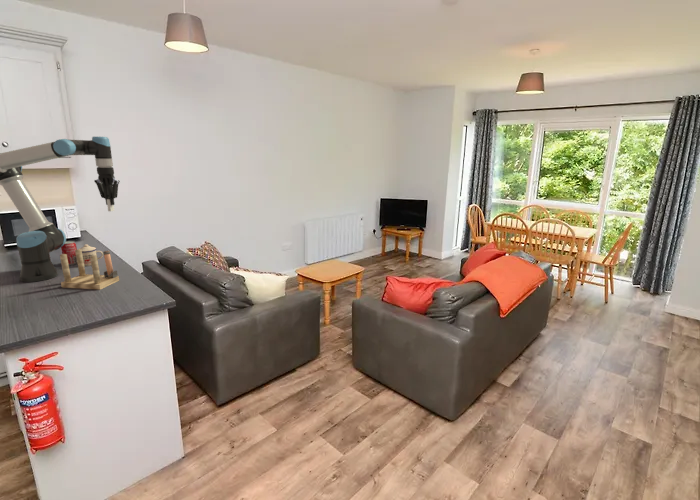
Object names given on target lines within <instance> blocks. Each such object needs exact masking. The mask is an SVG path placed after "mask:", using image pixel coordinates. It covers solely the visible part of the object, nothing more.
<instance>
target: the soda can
mask: <svg viewBox="0 0 700 500" xmlns="http://www.w3.org/2000/svg"><path fill="white" fill-rule="evenodd" d="M60 250H61V254H67V259H68V265H69V266H74V265H78V264H77V258H76V252H75V250H78V248H77V244H76V242H75V240H68V241H67V240H66V242H65V244H64V245H63V246H62V247H61V248H60Z"/></svg>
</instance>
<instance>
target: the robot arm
mask: <svg viewBox="0 0 700 500" xmlns="http://www.w3.org/2000/svg"><path fill="white" fill-rule="evenodd" d="M111 149H112V146H111V141H110V138H109V137H108V136H92V137H91V139H90V140H83V139H68V138H67V139H66V138H62V139H56V140H55V141H51V142H45V143H42V144H38V145H32V146H29V147H24V148H18V149H15V150H10V151H4V152H0V186H2V188H3V190H4V191H5V192H6V194H7V195H8V197H9V198H10V200H11V203H13V205H14V207H15V208H16V210H17V211H18V212H19V214H20V216H21V217H22V218H23V220H24V222H25V223H26V225H27V226H28V228H29V229H28V231H26V232H23V233H21V234H19V235H17V236H16V238H15V239H16V246H17V250H18V255H19V259H20V264H21V267H20V274H19V281H20V282H23V283H33V282H34V283H35V282H41V281H46V280H51V279H53V278H55V277H57V276H58V275H59V274H58V270H57V269H56V267H55V266H54V263H52V260H51V256H50V255H51V254H50V253H52V252H55V251H57V250H60V249H61V247H62V246H63V245H64V244H65V242H66V241H67V236H66V234H65V232H64V231H63V230H62V229H59V228H57V227H56V225H55V224H54V223H53V222H50V221H49V220H48V219H47V217H46V216H45V214H44V213H43V211H42V210H41V208H40V206H39V205H38V203H37V202H36V200H35V198H34V197H33V195H32V194H31V192H30V190H29V189H28V187H27V186H26V183H24V181H23V178H24V174H23V172H22V171H23V166H24V167H25V166H29V165H32V164H37V163H42V162H46V161H50V160H55V159H58V158H59V159H60V158H64V157H69V156H94V160H95V167H96V174H98V177H97V179H94V183H95V184H96V186H97V189H98V193H99V194H100V196H101V197H100V198H101V199H102V198H103V199H104V200H105V205H106V206H107V211H108V212H115V206H114V205H115V199H117V198H118V193H119V192H118V190H119V184H120V183H121V182H120V180H118V179H116V177H115V175H114V174H115V171H114V167H113V166H114V163H113V158H112V157H113V156H112V150H111Z"/></svg>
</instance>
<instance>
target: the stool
mask: <svg viewBox="0 0 700 500" xmlns="http://www.w3.org/2000/svg"><path fill="white" fill-rule="evenodd" d="M75 252H76V258H77V264H76V265H77V270H78V274H79V275H77V276H74V277H71V272H70V271H71V270H70V265H68V259H67V254H62V253H60V254H59V257H60V259H59V260H60V264H61V268H62V269H61V270H62V274H63V280H64V281H62V282H60V285H61V288H66V289H80V290H81V289H85V290H102V289H104V288H107V287H108V286H110V285H114V284H115V283H117V282H119V281H120V278H119V277H120V276H119V275H118V270H113V272H112V277H109V276H107V275H106V274H107V270H105V271H104V272H103V274H100V273H101V272H100V267H99V261H98V260H99V259H97V258H98V255H97V256H96V255H94V256H90V258H91V264H92V265H91V270H92V274H89V273H87V274H86V268H85V267H86V266H84V261H83V256H82V250H81V249H80V248H77V250H75Z"/></svg>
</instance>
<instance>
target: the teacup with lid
mask: <svg viewBox="0 0 700 500" xmlns="http://www.w3.org/2000/svg"><path fill="white" fill-rule="evenodd" d="M79 249H81V250H82V256H83V261H84V267H90V266H91V267H92V264H91V258H90V256H94V255H96V256H97V260H100V259H102V258H103V257H104V254H103V252H104V251H101V250H97V248H96V247H94V246H90V245H89V244H87V243H86V244H84V245H83V246H82V247H80V248H79ZM97 253H100V254H101V256H99V257H98V255H97Z"/></svg>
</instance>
